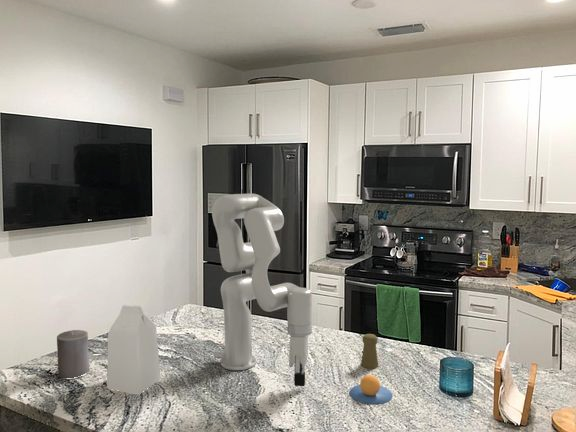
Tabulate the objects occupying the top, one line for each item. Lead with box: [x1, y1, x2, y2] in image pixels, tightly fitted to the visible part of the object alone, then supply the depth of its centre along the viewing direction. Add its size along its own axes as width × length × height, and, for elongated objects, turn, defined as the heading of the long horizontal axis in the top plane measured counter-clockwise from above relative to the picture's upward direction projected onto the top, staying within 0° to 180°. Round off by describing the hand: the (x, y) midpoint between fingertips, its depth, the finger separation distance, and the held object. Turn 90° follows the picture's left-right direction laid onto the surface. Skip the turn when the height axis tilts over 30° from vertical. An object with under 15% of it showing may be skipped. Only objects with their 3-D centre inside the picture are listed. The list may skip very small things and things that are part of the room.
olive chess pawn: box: [360, 333, 379, 370], centre depth 172 cm, size 6×6×11 cm
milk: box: [106, 303, 162, 395], centre depth 157 cm, size 12×12×26 cm
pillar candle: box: [56, 329, 90, 379], centre depth 166 cm, size 10×10×15 cm
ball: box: [359, 374, 381, 396], centre depth 150 cm, size 6×6×6 cm
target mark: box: [349, 384, 393, 405], centre depth 151 cm, size 13×13×1 cm
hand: (299, 384), depth 154 cm, fingers closed
